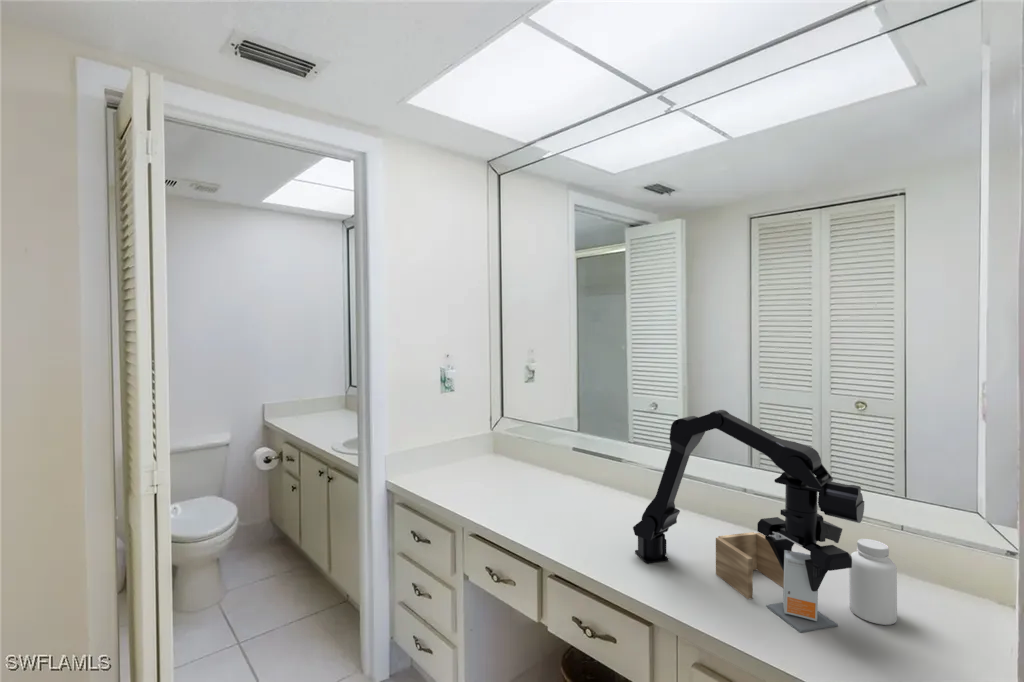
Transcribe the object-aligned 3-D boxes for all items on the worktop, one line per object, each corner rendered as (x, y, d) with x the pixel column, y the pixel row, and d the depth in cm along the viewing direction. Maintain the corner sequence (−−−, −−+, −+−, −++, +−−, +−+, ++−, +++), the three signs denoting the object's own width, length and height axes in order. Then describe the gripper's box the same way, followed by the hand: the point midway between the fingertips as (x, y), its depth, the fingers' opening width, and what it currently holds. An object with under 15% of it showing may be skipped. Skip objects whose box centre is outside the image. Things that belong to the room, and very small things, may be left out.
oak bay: (747, 599, 105) (748, 558, 105) (714, 572, 117) (714, 536, 117) (794, 591, 108) (795, 552, 108) (757, 566, 119) (757, 531, 119)
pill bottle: (875, 603, 103) (876, 535, 103) (907, 626, 95) (908, 552, 95) (840, 604, 103) (840, 535, 103) (869, 627, 95) (869, 553, 95)
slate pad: (800, 632, 93) (800, 630, 93) (766, 606, 102) (766, 605, 102) (837, 626, 95) (837, 624, 95) (801, 601, 104) (801, 599, 104)
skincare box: (783, 614, 98) (784, 557, 98) (783, 603, 102) (783, 548, 102) (818, 622, 96) (819, 563, 95) (816, 611, 99) (816, 555, 99)
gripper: (875, 522, 91) (874, 602, 91) (797, 490, 109) (796, 556, 110) (827, 527, 89) (826, 609, 89) (755, 494, 107) (755, 562, 107)
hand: (800, 582), depth 99 cm, fingers closed on skincare box, 7 cm apart
